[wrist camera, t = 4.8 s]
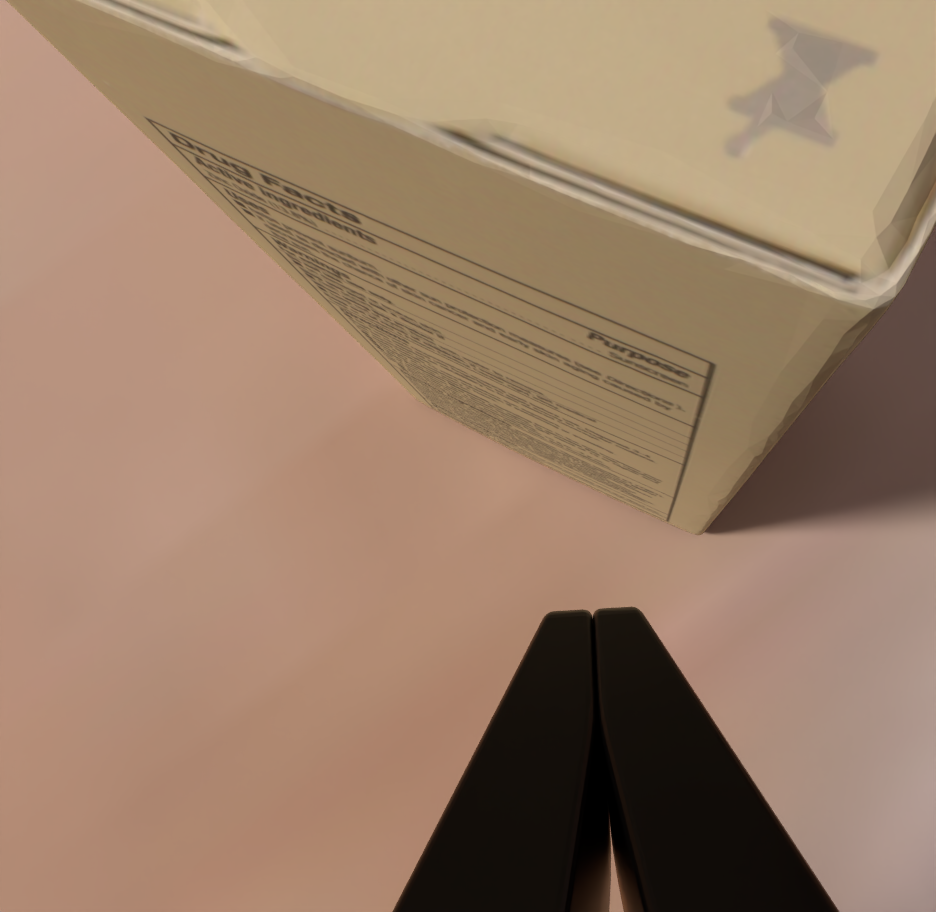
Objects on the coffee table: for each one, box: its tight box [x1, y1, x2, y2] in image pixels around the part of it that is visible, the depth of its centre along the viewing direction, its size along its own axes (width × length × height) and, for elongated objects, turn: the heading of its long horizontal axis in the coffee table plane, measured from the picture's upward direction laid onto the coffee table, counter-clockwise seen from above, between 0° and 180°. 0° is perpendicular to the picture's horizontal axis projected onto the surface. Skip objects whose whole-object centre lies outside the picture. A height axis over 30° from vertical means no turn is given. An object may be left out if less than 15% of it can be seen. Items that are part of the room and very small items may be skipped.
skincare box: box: [6, 0, 936, 535], centre depth 11 cm, size 6×4×12 cm
